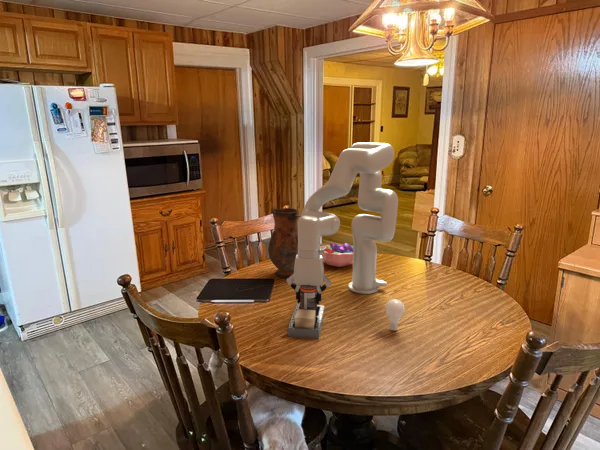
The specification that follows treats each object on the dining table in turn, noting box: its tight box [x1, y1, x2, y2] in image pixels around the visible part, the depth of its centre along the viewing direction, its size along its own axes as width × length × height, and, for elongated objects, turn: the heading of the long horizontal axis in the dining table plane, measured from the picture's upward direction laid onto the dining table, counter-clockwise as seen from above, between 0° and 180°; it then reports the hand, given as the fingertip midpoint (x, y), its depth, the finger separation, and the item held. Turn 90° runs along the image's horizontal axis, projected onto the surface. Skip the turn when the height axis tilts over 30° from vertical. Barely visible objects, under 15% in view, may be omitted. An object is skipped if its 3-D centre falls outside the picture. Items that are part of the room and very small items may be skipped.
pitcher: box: [267, 207, 302, 279], centre depth 181 cm, size 17×21×30 cm
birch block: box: [295, 309, 316, 329], centre depth 133 cm, size 6×6×6 cm
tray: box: [287, 303, 325, 340], centre depth 138 cm, size 10×18×4 cm, turn 171°
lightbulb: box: [384, 298, 406, 332], centre depth 135 cm, size 6×6×11 cm
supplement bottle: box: [299, 285, 318, 310], centre depth 140 cm, size 6×6×11 cm
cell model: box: [320, 242, 353, 268], centre depth 196 cm, size 17×20×11 cm
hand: (308, 301), depth 141 cm, fingers closed on supplement bottle, 6 cm apart
